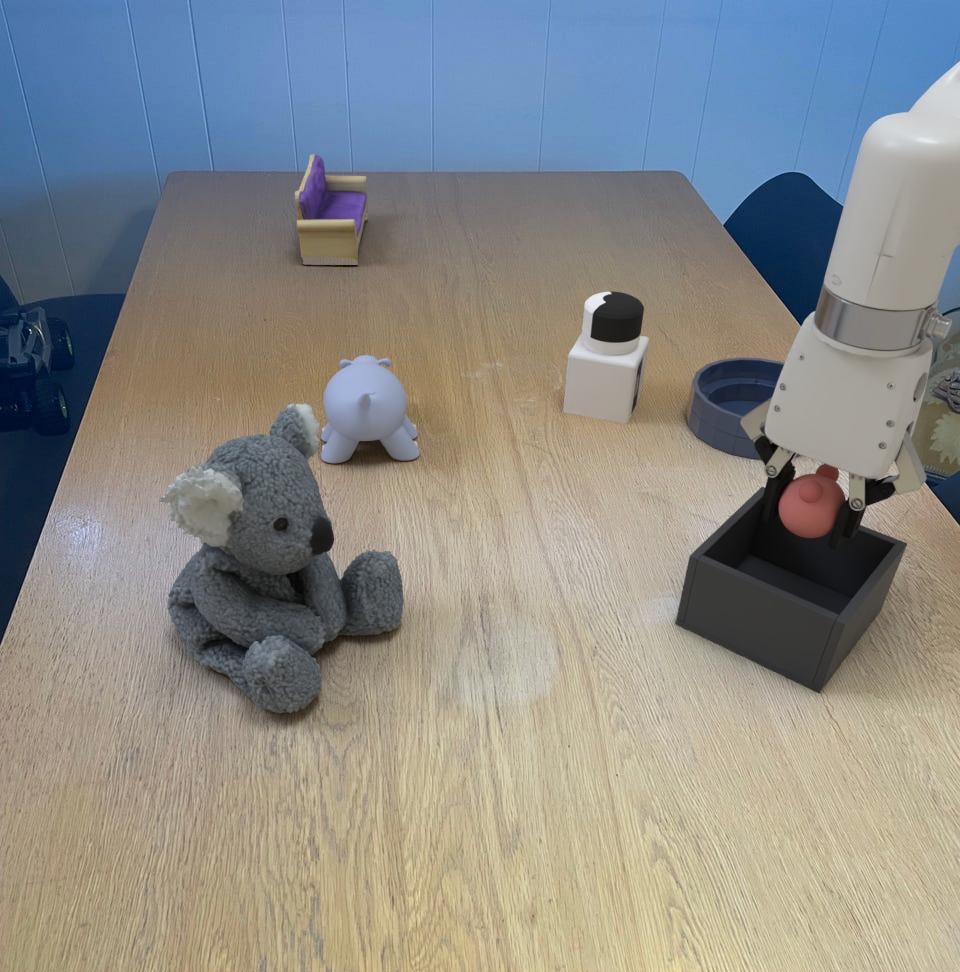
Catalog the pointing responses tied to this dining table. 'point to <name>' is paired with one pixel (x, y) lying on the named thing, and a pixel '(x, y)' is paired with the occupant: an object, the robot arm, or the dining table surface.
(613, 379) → the container
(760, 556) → the bin
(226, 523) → the koala plush
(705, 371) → the bowl
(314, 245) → the toy sofa
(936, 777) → the dining table surface
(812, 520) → the plush toy
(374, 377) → the hippopotamus toy
